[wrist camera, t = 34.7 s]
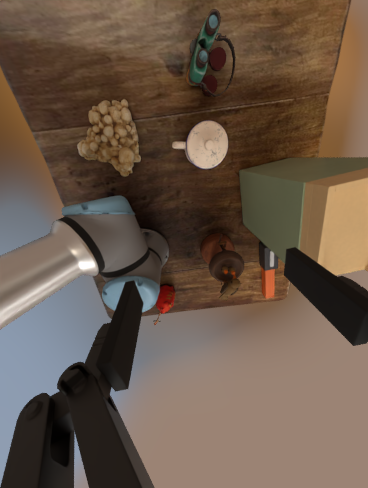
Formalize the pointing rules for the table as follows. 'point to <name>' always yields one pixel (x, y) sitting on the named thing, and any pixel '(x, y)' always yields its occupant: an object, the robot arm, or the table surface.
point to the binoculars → (208, 55)
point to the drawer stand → (310, 209)
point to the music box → (223, 262)
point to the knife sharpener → (267, 269)
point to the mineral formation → (112, 136)
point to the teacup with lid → (205, 144)
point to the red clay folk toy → (165, 299)
